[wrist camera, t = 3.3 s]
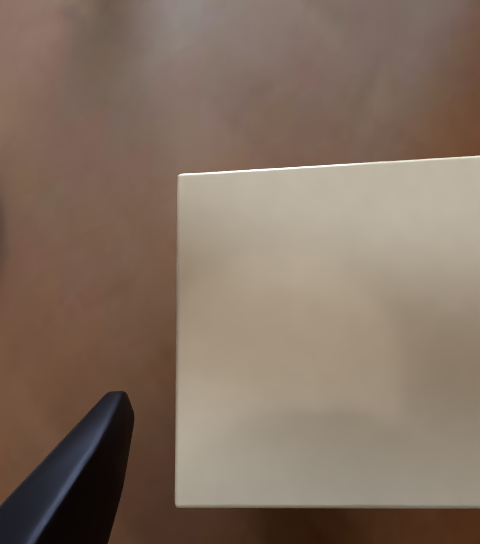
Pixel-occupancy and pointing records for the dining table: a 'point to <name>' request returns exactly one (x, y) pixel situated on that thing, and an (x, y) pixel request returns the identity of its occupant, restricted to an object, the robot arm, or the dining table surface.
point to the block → (329, 336)
